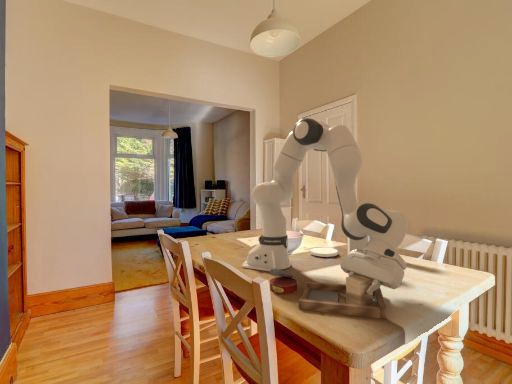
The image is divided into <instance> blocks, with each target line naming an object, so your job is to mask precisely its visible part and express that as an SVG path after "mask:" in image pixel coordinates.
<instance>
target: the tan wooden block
mask: <svg viewBox="0 0 512 384" xmlns="http://www.w3.org/2000/svg"><path fill="white" fill-rule="evenodd" d="M372 284H373V279H371V278H368V277H365V276H362V275H359V274H358V275H354V276H350V277H349V276H347V277H345V285H346V294H345V297H346V303H345V304H354V305H363V306H373V305H374V296H373V293H372V295H371V296H370V295H368V294H366V293H365V292H364V290H365V289H366V287H370V286H371V285H372Z"/></svg>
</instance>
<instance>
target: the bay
mask: <svg viewBox="0 0 512 384" xmlns="http://www.w3.org/2000/svg"><path fill="white" fill-rule="evenodd" d="M339 294H344V295H346V284H339V283H338V284H337V283H329V282H327V283H326V282H319V281H318V282H317V281H315V282H314V281H306V282H305V288H304V290H303V293H302V295H301V298H299V300H298V310H306V311H314V312H321V313H323V312H324V313H330V314H339V315H347V316H348V315H349V316H357V317H363V318H374V319H382V320H386V319H387V305H386V302H385V300H384V295H383V293H382V289H381V287H380V288H378V289H377V290H375V291H373V297H374V298H375V303H376V305H377V306H373V305H371V306H363V305H354V304H348V303H342V302H339Z"/></svg>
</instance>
